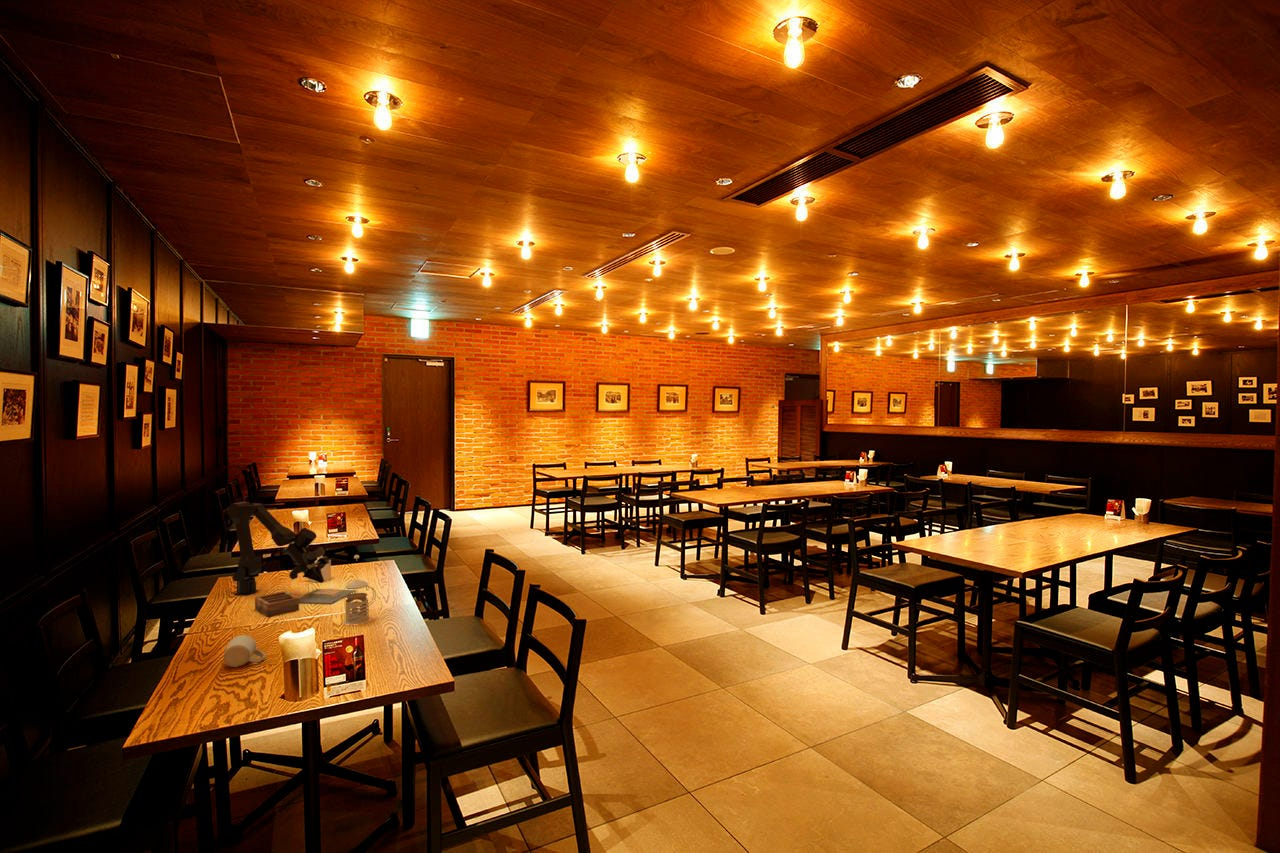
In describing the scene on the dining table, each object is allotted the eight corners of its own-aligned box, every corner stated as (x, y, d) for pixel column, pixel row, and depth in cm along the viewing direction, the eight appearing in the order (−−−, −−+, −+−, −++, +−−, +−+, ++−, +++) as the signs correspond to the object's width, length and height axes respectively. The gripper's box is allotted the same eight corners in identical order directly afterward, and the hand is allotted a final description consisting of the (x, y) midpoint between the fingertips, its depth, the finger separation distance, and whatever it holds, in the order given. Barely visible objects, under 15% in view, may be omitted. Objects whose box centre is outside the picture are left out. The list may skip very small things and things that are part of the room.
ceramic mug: (221, 670, 183) (222, 645, 183) (228, 660, 191) (228, 636, 190) (262, 665, 187) (262, 640, 187) (267, 655, 195) (267, 632, 195)
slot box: (255, 609, 240) (255, 597, 240) (285, 603, 248) (285, 591, 248) (267, 617, 231) (267, 604, 231) (298, 610, 239) (298, 597, 239)
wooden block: (312, 593, 253) (331, 594, 252) (322, 589, 259) (341, 590, 258) (312, 598, 253) (331, 599, 252) (322, 593, 259) (341, 595, 258)
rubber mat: (289, 603, 248) (289, 601, 248) (317, 590, 266) (317, 589, 266) (331, 604, 247) (331, 603, 247) (356, 591, 265) (355, 590, 265)
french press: (338, 621, 227) (337, 555, 226) (369, 613, 235) (369, 550, 235) (348, 627, 220) (348, 559, 220) (380, 619, 229) (380, 554, 228)
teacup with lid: (332, 576, 289) (332, 552, 288) (330, 581, 280) (330, 556, 280) (303, 579, 284) (303, 554, 284) (301, 584, 276) (300, 559, 276)
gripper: (295, 547, 247) (319, 575, 245) (326, 537, 265) (349, 564, 264) (278, 565, 248) (302, 593, 247) (310, 554, 267) (332, 581, 265)
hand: (322, 582), depth 256 cm, fingers closed
